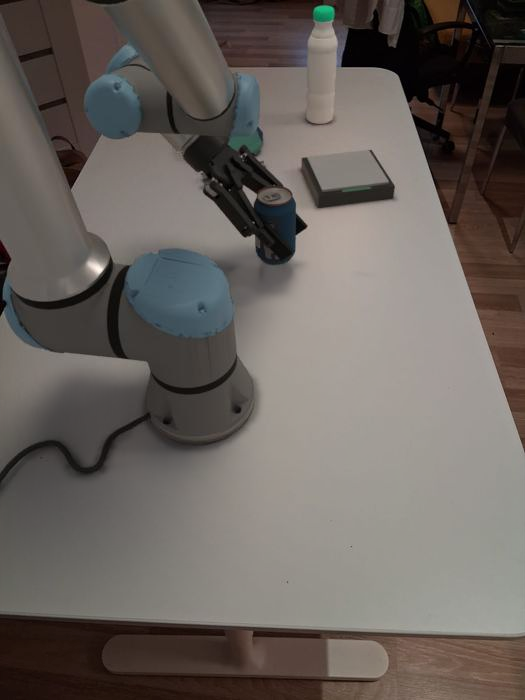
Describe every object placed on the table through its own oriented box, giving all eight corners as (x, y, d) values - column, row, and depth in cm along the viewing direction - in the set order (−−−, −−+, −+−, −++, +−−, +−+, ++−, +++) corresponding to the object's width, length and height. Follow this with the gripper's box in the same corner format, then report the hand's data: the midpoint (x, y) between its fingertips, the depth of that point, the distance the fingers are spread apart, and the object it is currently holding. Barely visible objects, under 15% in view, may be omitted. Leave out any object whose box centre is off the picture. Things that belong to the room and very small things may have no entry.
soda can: (285, 240, 98) (285, 179, 89) (302, 261, 93) (303, 200, 84) (250, 250, 96) (246, 189, 87) (265, 272, 91) (262, 210, 83)
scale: (317, 207, 110) (318, 193, 108) (301, 169, 121) (301, 155, 119) (393, 198, 112) (395, 183, 109) (370, 161, 122) (371, 147, 120)
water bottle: (300, 119, 138) (301, 8, 120) (319, 110, 141) (323, 0, 123) (319, 127, 135) (324, 14, 116) (339, 118, 138) (346, 7, 119)
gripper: (209, 125, 92) (297, 222, 100) (154, 181, 80) (260, 288, 87) (235, 97, 87) (327, 201, 95) (180, 152, 75) (291, 268, 82)
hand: (294, 242), depth 91 cm, fingers closed on soda can, 7 cm apart
